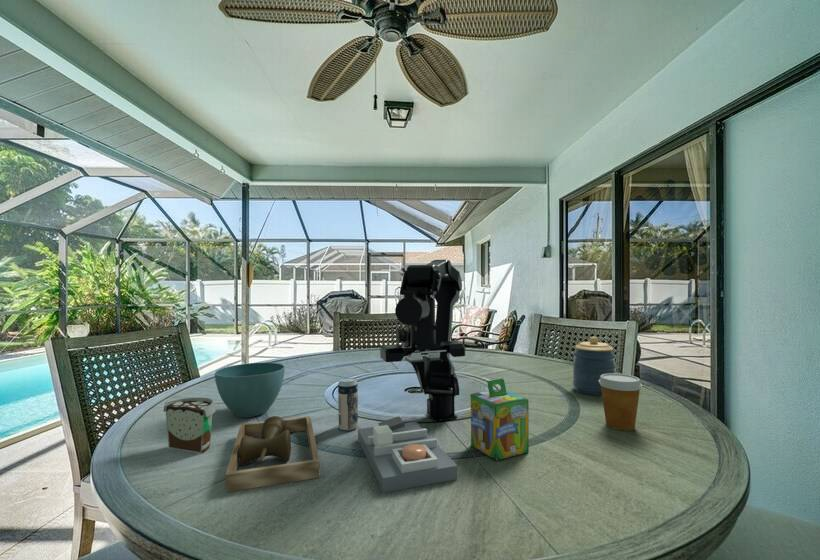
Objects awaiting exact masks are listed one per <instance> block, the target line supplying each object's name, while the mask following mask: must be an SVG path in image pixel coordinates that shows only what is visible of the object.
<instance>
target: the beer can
mask: <svg viewBox="0 0 820 560" xmlns="http://www.w3.org/2000/svg"><path fill="white" fill-rule="evenodd" d="M358 386H359V385H358V381H357V379H356V378H354V377H345V378H340V380H339V381H338V383H337V395H338V396H337V400H338V401H337V402H338V405H337V406H338V407H337V408H338V410H337V411H338V429H340V430H342V431H346V432H347V431H349V432H350V431H354V430H355V429H356V428H359V427H358V426H359V396H358V395H359V392H358V391H359V390H358V388H359V387H358Z"/></svg>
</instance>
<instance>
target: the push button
mask: <svg viewBox="0 0 820 560" xmlns="http://www.w3.org/2000/svg"><path fill="white" fill-rule="evenodd" d="M402 456H403V460H404V461H405V462H408V461H415V460H421V459H426V448H425V447H424V446H422V445H419V444H410V445H406V446H404V447H403V449H402Z"/></svg>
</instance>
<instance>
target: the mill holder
mask: <svg viewBox="0 0 820 560" xmlns="http://www.w3.org/2000/svg"><path fill="white" fill-rule="evenodd" d="M283 420H284V421H285V425H286V426H285V430H289V432H290V433H293V432H292V431H296V432H302V430H304V431H306V430H307V431H306V434H307V435H306V436H307V442H308V448H309V456H310V459H309V460H304V461H296V462H290V463H288V462H287V463H283V464H282V463H281V464H274V465H269V466H261V467H260V466H259V467H256V468H254V467H253V468H248V469H240V470H238V469H239V468H238V467H239V464H240V455H239V451H240V442H241V439H242V437H243V436H245V435H246V436H250V437H252V438H255V437H262V435H261V432H262V429H263V424H264V422H265V420H264V421H256V422H255V421H254V422H249V423H248V422H247V423H240V425H239V428H238V432H237V435H236V438H235V442H234V444H233V445H234V446H233V448H232V452H231V455H230V458H229V459H230V460H229V462H228V465H227V469H226V472H225V493H229V492H235V491H242V490H243V491H244V490H248V489H255V488H260V487H261V488H262V487H267V486H273V485H280V484H281V485H282V484H286V483H294V482H298V481H306V480H311V479H317V478H320V458H319V457H320V456H319V454H318V450H317V449H318V448H317V443H316V438H315V437H316V436H315V433H314V428H313V423H312V419H311V416H310V415H309V416H301V417H300V416H299V417H292V418H283Z"/></svg>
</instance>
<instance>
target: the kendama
mask: <svg viewBox="0 0 820 560" xmlns="http://www.w3.org/2000/svg"><path fill="white" fill-rule="evenodd" d="M283 419H284V418H282V417H281V416H279V415H278V416H276V415H273V416H269V417H268V418H266V419H265V420H264V421H265V422H264V424H263V429H262V432H261V435H262V436H261V438H262V439H261V438H260V439H259V438H255V437H250V436H246V435H245V436H243V437H242V439H241V442H240V451H239V455H240V460H239V463H240V464H241V465H242V466H247V465H248V464H250V463H251V462H253V461H255V460H256V459H259V462H262V461H264V459H265V457H275V458H278V459H281V460H282V461H286V462H289V460H290V458H291V450H292V446H291V445H292V444H291V443H292V440H291V432H289V430H285V426H286V425H285V421H284V420H283Z"/></svg>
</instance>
